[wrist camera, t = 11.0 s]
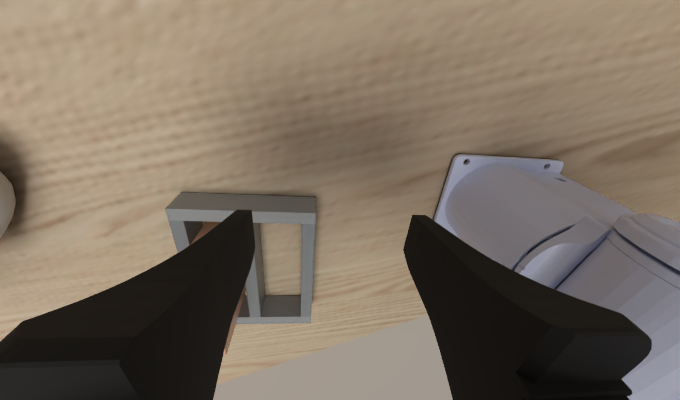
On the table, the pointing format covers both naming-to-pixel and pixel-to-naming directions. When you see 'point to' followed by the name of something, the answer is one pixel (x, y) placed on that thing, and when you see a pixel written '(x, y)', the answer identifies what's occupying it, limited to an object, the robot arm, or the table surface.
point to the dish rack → (265, 209)
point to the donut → (6, 203)
